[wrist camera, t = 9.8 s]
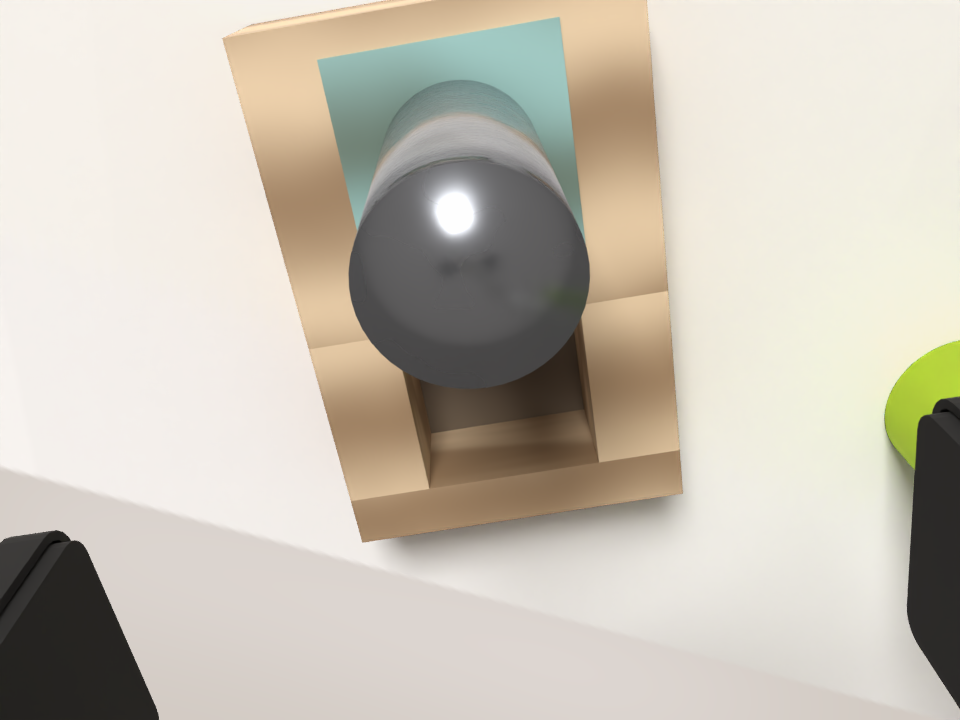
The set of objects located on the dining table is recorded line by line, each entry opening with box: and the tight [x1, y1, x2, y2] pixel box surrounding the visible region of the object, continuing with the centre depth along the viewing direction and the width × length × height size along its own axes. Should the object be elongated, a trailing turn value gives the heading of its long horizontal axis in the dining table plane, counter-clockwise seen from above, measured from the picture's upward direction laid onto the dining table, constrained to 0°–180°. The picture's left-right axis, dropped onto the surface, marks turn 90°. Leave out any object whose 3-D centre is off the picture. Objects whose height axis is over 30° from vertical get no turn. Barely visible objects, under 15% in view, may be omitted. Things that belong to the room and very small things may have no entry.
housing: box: [222, 0, 683, 543], centre depth 30 cm, size 18×12×4 cm, turn 9°
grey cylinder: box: [348, 80, 590, 389], centre depth 22 cm, size 5×5×10 cm
